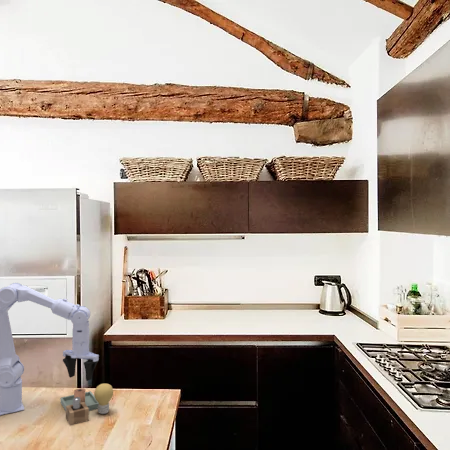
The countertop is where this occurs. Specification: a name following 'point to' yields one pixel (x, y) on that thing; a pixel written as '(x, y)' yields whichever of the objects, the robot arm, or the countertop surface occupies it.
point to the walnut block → (77, 414)
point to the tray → (89, 401)
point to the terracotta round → (80, 394)
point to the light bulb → (103, 397)
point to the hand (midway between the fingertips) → (80, 378)
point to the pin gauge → (76, 403)
